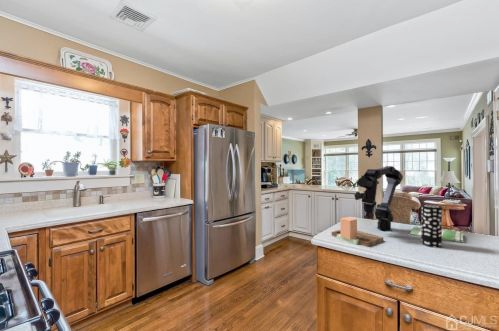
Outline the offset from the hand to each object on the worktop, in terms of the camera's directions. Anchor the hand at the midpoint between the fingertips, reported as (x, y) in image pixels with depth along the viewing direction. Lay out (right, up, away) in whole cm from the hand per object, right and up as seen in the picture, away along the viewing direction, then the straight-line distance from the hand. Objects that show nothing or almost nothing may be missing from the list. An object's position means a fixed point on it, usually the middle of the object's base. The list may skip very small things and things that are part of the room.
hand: (367, 216), depth 139 cm
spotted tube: (+25, -11, -17) cm, 32 cm away
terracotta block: (-15, -9, -9) cm, 20 cm away
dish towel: (+40, -12, -1) cm, 41 cm away
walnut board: (-9, -11, -6) cm, 15 cm away
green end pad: (-16, -11, -10) cm, 22 cm away
